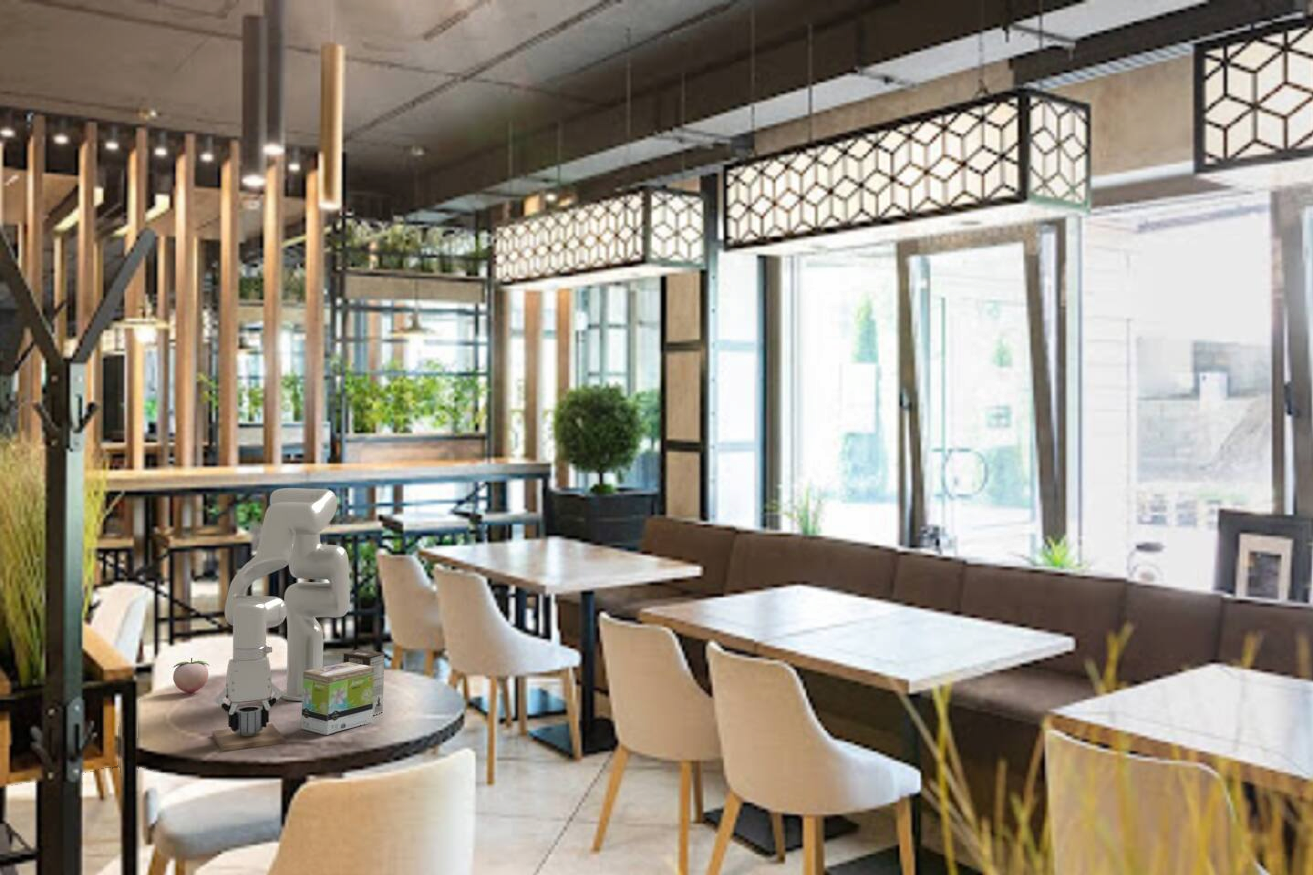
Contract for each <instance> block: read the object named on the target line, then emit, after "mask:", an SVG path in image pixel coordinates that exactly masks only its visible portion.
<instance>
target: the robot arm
mask: <svg viewBox="0 0 1313 875" xmlns="http://www.w3.org/2000/svg"><path fill="white" fill-rule="evenodd" d="M269 500H270V501H269V503H270V506H268V507H267V508H266V511H265V514H264V517H263V522H262V527H261V530H260V532H261V533H260V537H259V539H258V540H259V541H258V545H257V549H256V554H255V556H254V557H253V558H251V559H250V560H249V561H248V562H246V563H245V564H244V565H243V566H242V567H241V569H239V570H238V572H237V573H236V574H235V575H234V577H233V579H232V581H231V582H230V586H229V588H228V593H227V597H226V601H225V605H224V606H225V607H224V616H225V620H226V622H227V623H228V624H229V625H231V626H232V658H231V659H229V660H228V664H227V669H226V676H225V677H226V678H225V679H226V680H225V687H224V688H223V689H222V690H221V691H220V692H219V693H218V695H216V696H215V697H214V698H213V701H214V702H215V703H216V704H217V705H218V706H220V707H221V709H223V710H224V711H225V712H226V713H228V715H227V718H228V721H227V723H228V724H227V725H228V727H229V728H230V729H232V731H235V730H236V714H235V710H236V708H238V705H239V704H240V703H248V702H256V701H257V702H258V701H260V703H261V705H262V707H263V727H266V724H269V723H270V722H269V721H270V710H271V708H272V707H273V706H275V704H276V703H277V701H279V699H280V698H282V699H283V700H286V701H291V702H292V701H293V702H295V701H296V702H302V695H303V674H304V671H307V670H312V669H317V668H322V667H324V630H323V628H322V626H321V624H320V622H318V620H317V619H316V618H342V617H344V616H345V615H347V613H349V612H348V611H349V609H350V603H351V592H350V591H351V590H350V562H349V555H348V553H347V550H346V549H345V548H344V547H343V546H341V545H337V544H335V545H334V544H322V543H321V536H320V535H321V534H320V533H321V532H322V531H323V530H324V529H325V527H326V526H328V524H329V523H330V522H331V521H332V519H334V516H335V514H336V513H337V512H336V511H337V508H338V499H337V496H336V494H335V493H334V492H333V491H332V490H331V489H326V488H304V487H303V488H302V487H301V488H300V487H297V488H296V487H287V488H279V489H275V490H274V491H272V493H271V494H270V497H269ZM287 566H288V567H289V573H290V575H291V576H292V577H293V578H297V579H300V580H301V579H302V580H305V579H306V580H327V581H328V582H318V581H317V582H313V581H311V582H310V581H303V582H301V581H299V582H296V583H293V584H291V585H289V586H288V587H287V588H286V590H285V592H284V597H283V598H284V600H283V599H282V598H281V597H277V596H263V595H245V594H246V591H247V590H248V588H249V587H250V586H251V585H252V584H253V583H254V582H255V581H257V580H258V579H260V578H262V577H265V576H267V575H270V574H272V573H274V572H277V571H279V570H282V569H285V567H287ZM285 619H286V623H287V641H286V642H287V645H286V647H287V648H286V649H287V651H286V652H287V653H286V657H287V659H286V668H287V669H286V688H285V689H284V690H281V689H280V688H279V687H277V686H276V684H273V682H272V672H271V671H272V670H271V664H270V659H269V657H268V656H267V655H268V654H269V653H273V647H272V646H267V629H269V628H275V627H278V626H280V625H281V624H282V623H283V622H284V621H285ZM273 693H274V694H273ZM272 694H273V695H272ZM224 699H228V701H229V703H228V704H227V703H226V702H225V701H224Z"/></svg>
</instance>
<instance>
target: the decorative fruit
mask: <svg viewBox="0 0 1313 875" xmlns="http://www.w3.org/2000/svg"><path fill="white" fill-rule="evenodd" d="M206 665H207V666H208V667H210V664H209V663H207V662H206V661H203V660H194V661H193V657H191V658H190V662H189V661H181V662H179V663H178V662H177V663H176V664H175V665H174V666H173V667H172V669H173V668H175V669H174V672H173V674H172V675H173V676H172V679H173V683H174V685H175V686H176V688H178V689H179V690H181V691H183V692H185V693H188V694H189V695H190V694H193V693H196V692H197V691H199V690H200V689H202V688H203V687H205V685H206V684H207V682H208V679H209V670H208V667H207V666H206Z"/></svg>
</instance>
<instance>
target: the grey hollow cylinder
mask: <svg viewBox="0 0 1313 875" xmlns="http://www.w3.org/2000/svg"><path fill="white" fill-rule="evenodd" d="M235 714H236V730H235V732H236V733H241V734H247V733H248V734H249V733H256V732H259V731H261V730H263V706H260V705H243V706H239V707H236V710H235Z"/></svg>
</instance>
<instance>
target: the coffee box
mask: <svg viewBox="0 0 1313 875" xmlns="http://www.w3.org/2000/svg"><path fill="white" fill-rule="evenodd" d="M342 660H343V662H342V663H346V662H352V663H357V664H362V665H367V666H371V667H374V684H373V715H375V714H378V715H380V714H379V713H381V712H383V713H384V681H385V680H384V679H385V652H380V651H373V650H366V649H362V648H358V649H354V650H350V651H347V652H345V653H343V658H342ZM381 714H382V713H381ZM375 716H376V715H375Z"/></svg>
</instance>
